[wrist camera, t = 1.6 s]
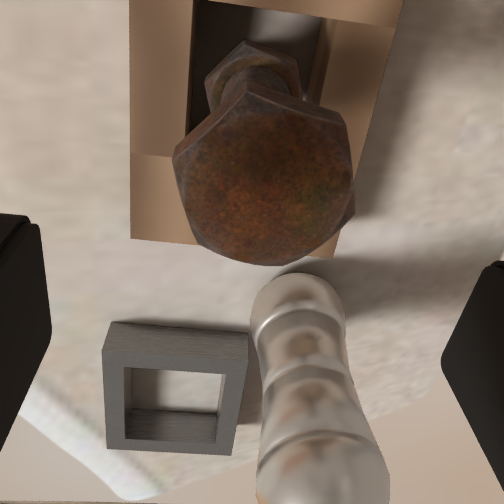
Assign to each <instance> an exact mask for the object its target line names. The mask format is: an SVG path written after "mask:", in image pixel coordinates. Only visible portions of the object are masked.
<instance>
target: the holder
mask: <svg viewBox="0 0 504 504" xmlns="http://www.w3.org/2000/svg"><path fill="white" fill-rule="evenodd" d="M248 362H249V361H248V333H240V332H227V331H215V330H202V329H190V328H178V327H165V326H153V325H141V324H128V323H116V322H111V324H110V327H109V330H108V333H107V336H106V339H105V342H104V345H103V348H102V366H103V385H104V404H105V423H106V442H107V449H118V450H137V451H155V452H173V453H191V454H209V455H228V456H231V454H232V448H233V443H234V437H235V432H236V426H237V421H238V416H239V410H240V405H241V399H242V394H243V389H244V383H245V378H246V372H247V367H248ZM131 367H132V368H146V369H160V370H174V371H188V372H202V373H215V374H222V380H221V387H220V394H219V401H218V408H217V414H204V413H188V412H173V411H157V410H141V409H132V402H131Z"/></svg>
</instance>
